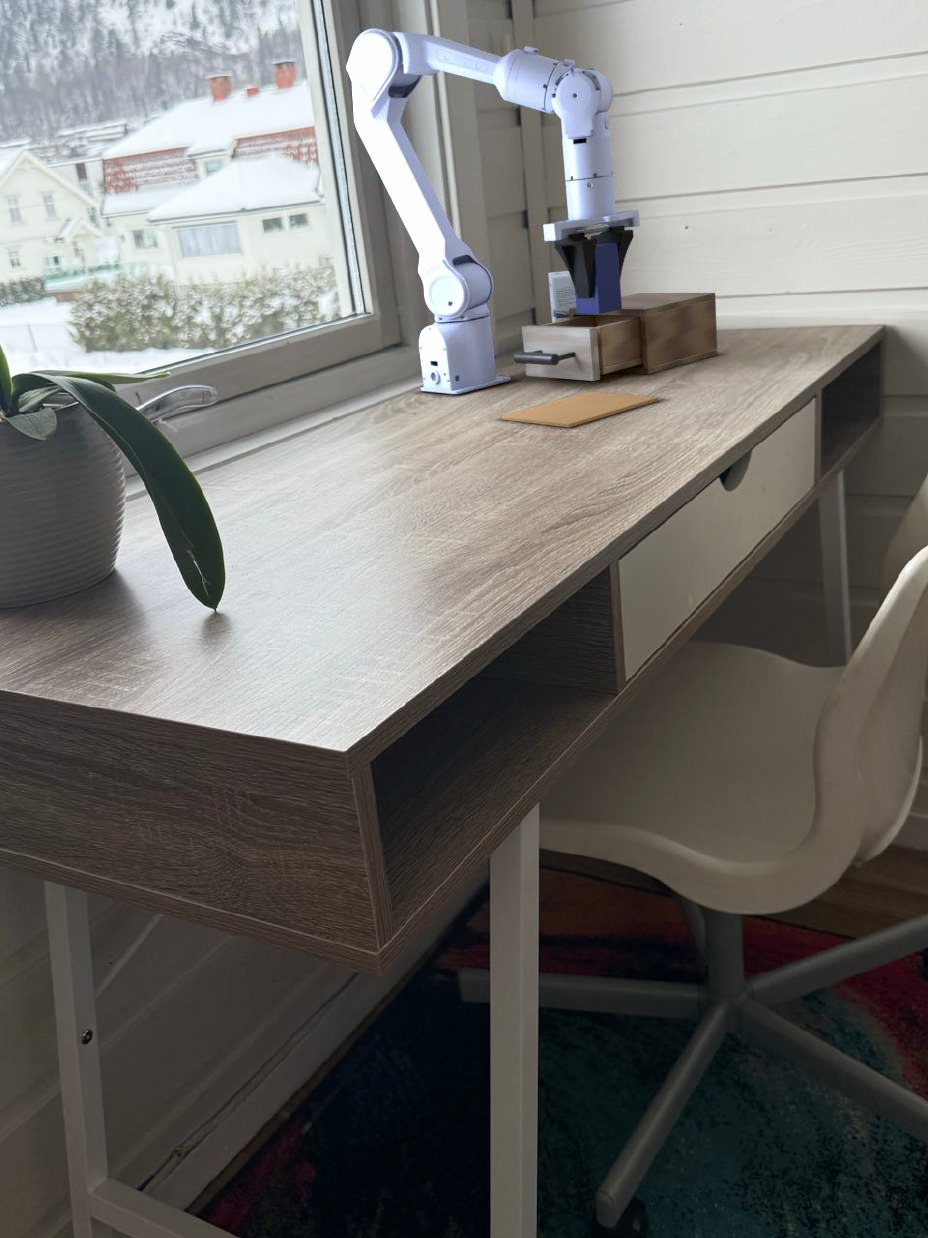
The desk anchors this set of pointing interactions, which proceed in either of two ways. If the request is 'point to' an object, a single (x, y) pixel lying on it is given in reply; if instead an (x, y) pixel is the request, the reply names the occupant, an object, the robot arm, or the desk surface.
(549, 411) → the cork pad
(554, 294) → the ink box
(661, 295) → the cabinet
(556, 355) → the drawer
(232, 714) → the desk surface
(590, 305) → the navy block
